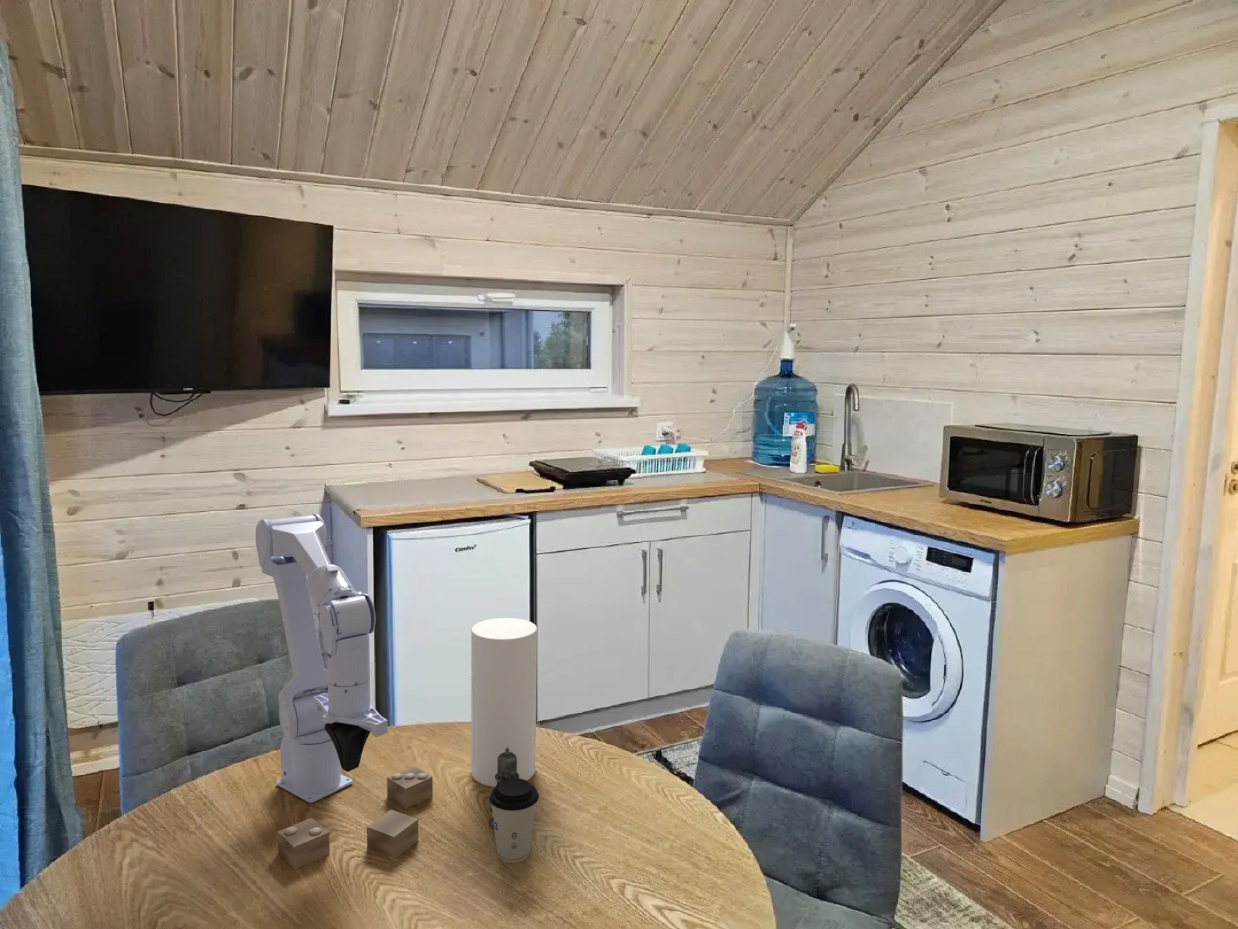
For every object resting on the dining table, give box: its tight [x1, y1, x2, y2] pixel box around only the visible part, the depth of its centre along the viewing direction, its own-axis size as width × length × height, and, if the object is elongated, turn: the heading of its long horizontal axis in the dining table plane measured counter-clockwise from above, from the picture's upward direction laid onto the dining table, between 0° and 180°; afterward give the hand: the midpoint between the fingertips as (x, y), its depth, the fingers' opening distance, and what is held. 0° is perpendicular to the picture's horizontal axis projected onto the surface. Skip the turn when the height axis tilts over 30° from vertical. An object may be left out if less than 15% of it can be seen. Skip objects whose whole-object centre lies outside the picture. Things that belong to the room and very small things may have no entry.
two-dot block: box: [277, 817, 330, 871], centre depth 117 cm, size 5×5×4 cm
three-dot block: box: [386, 765, 434, 810], centre depth 132 cm, size 5×5×4 cm
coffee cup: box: [488, 778, 540, 864], centre depth 118 cm, size 7×7×10 cm
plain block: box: [366, 809, 419, 859], centre depth 119 cm, size 5×5×4 cm
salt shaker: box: [486, 747, 519, 831], centre depth 125 cm, size 6×6×12 cm
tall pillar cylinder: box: [470, 617, 538, 788], centre depth 139 cm, size 11×11×25 cm
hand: (350, 768), depth 122 cm, fingers closed
